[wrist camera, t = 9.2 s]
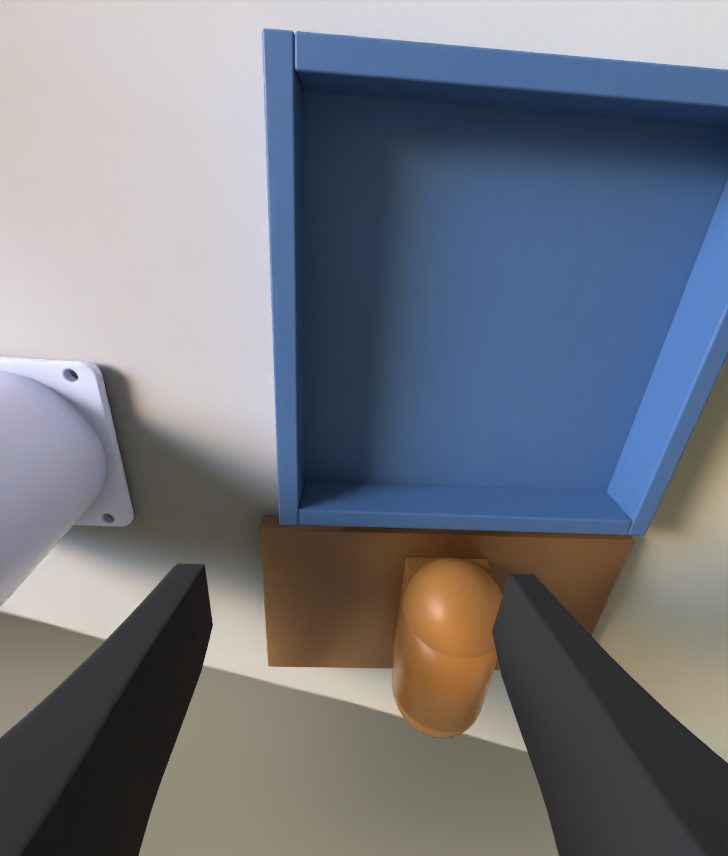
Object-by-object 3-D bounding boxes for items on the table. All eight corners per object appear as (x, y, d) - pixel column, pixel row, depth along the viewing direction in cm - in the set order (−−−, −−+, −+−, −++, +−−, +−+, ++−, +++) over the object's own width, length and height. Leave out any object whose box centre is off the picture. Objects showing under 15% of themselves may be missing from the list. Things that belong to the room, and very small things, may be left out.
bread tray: (287, 487, 20) (279, 525, 18) (278, 60, 13) (261, 26, 11) (611, 498, 21) (645, 536, 18) (768, 102, 14) (855, 80, 11)
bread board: (271, 650, 25) (268, 666, 24) (263, 515, 21) (259, 529, 20) (568, 655, 26) (576, 671, 25) (623, 527, 22) (635, 540, 21)
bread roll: (385, 667, 25) (391, 758, 21) (402, 535, 20) (415, 617, 16) (464, 668, 25) (486, 759, 21) (498, 538, 20) (534, 620, 16)
